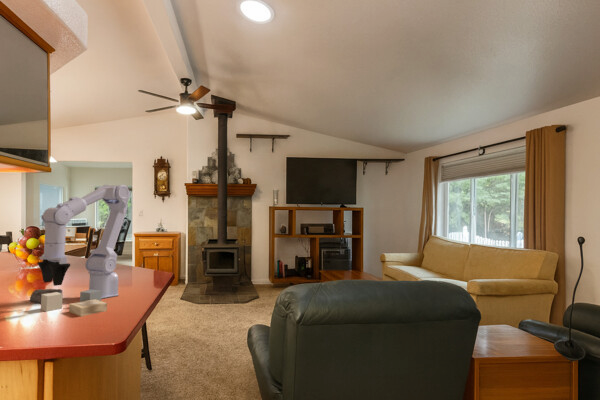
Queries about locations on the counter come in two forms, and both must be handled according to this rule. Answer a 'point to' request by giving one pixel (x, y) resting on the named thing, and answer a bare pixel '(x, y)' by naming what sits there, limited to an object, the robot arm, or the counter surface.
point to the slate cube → (90, 295)
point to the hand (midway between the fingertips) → (52, 283)
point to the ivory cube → (51, 301)
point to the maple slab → (87, 307)
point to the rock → (37, 294)
